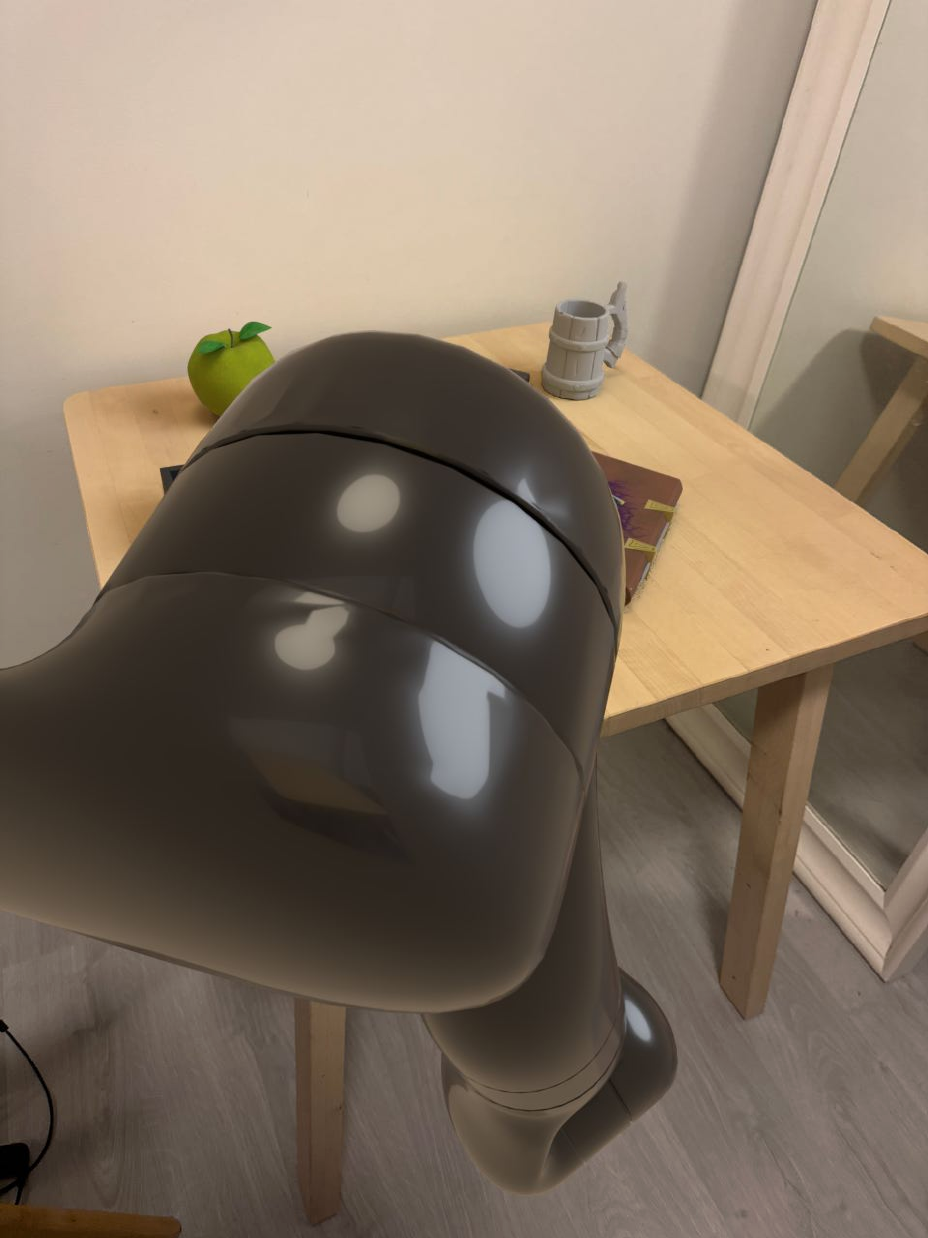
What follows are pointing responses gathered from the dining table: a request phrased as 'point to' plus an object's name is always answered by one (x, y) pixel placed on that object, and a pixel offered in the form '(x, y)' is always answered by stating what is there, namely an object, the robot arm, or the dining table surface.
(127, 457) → the dining table surface
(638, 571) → the book
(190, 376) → the fruit
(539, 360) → the dining table surface
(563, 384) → the mug
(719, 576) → the dining table surface
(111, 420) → the dining table surface
